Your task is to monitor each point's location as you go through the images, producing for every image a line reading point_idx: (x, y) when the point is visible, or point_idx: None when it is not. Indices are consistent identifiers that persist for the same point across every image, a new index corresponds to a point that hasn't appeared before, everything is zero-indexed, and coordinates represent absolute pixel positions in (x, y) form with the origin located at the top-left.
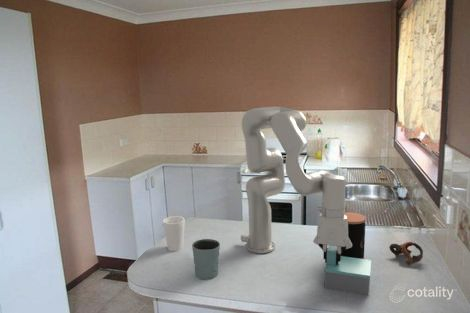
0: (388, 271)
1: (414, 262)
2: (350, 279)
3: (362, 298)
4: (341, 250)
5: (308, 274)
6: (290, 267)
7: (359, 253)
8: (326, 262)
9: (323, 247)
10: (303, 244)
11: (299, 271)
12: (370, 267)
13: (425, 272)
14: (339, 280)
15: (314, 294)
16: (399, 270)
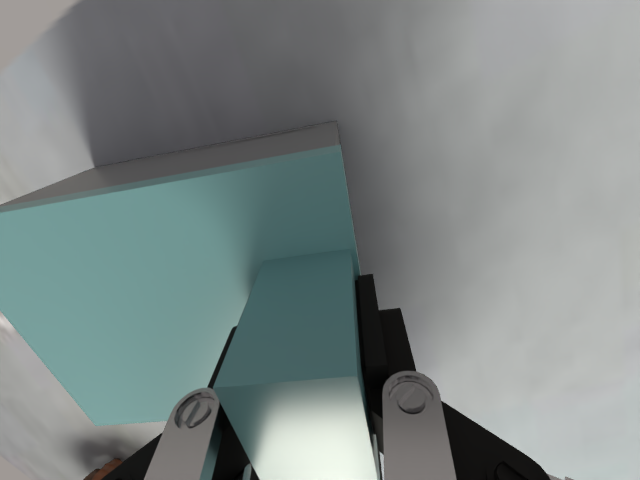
0: None
1: (91, 473)
2: (129, 181)
3: (115, 146)
4: (167, 447)
5: (478, 252)
6: (602, 279)
7: (251, 470)
8: (358, 276)
9: (437, 440)
10: None
11: (539, 261)
12: (32, 346)
13: (48, 436)
14: (220, 158)
15: (387, 26)
16: None
